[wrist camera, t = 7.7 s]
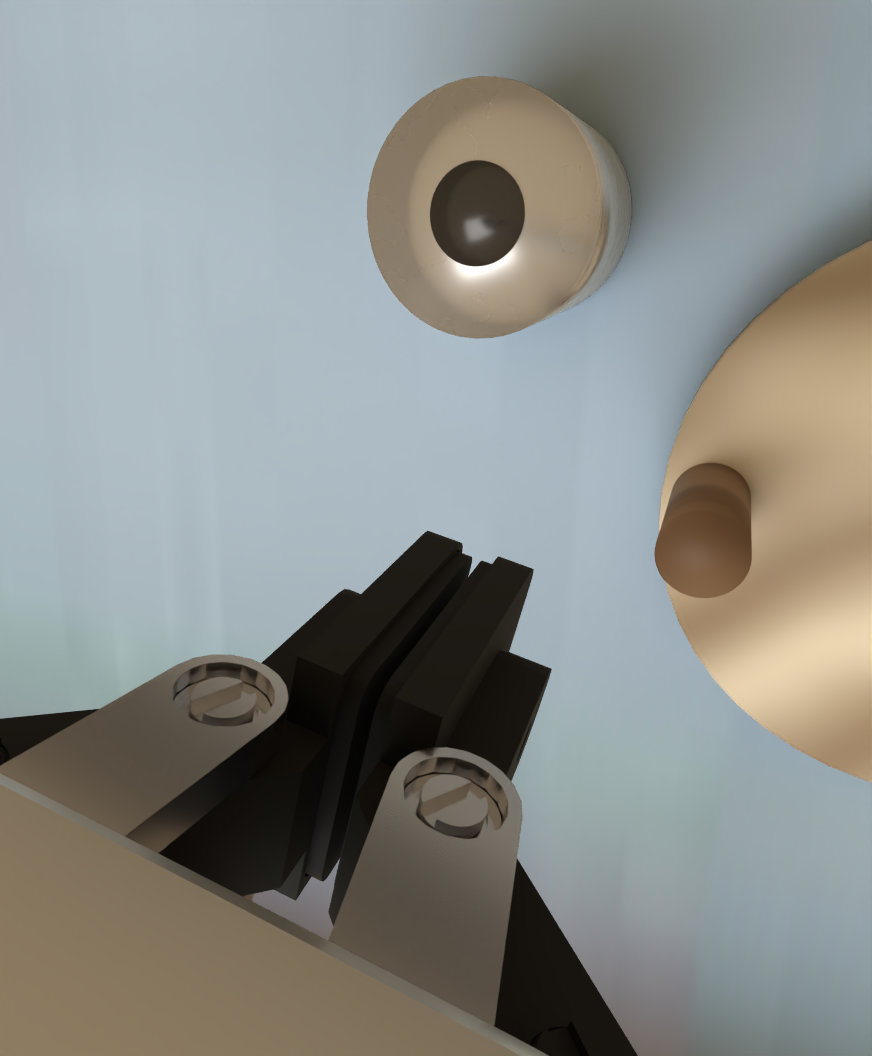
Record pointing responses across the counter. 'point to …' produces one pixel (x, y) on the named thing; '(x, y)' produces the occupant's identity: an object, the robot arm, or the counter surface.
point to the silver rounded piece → (495, 208)
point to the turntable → (784, 517)
